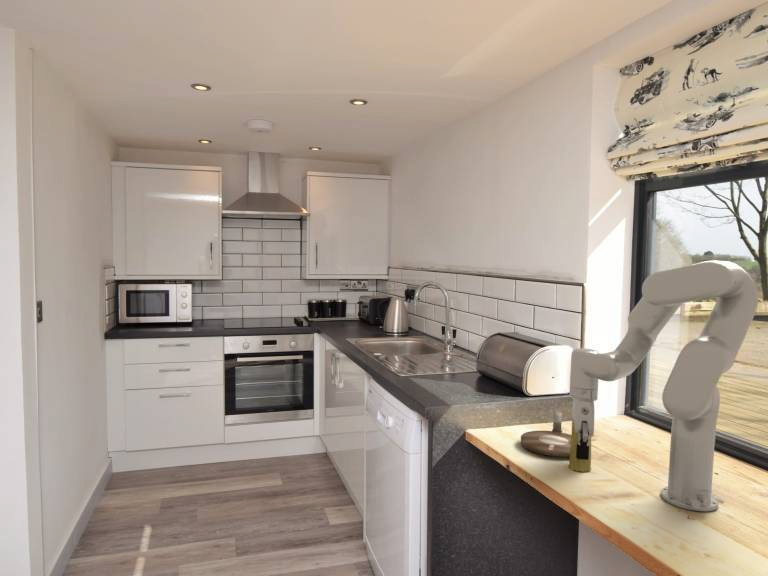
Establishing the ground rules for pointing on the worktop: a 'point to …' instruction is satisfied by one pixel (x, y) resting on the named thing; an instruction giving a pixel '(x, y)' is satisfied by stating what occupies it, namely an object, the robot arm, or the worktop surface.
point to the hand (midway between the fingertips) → (580, 453)
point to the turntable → (549, 440)
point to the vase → (574, 462)
